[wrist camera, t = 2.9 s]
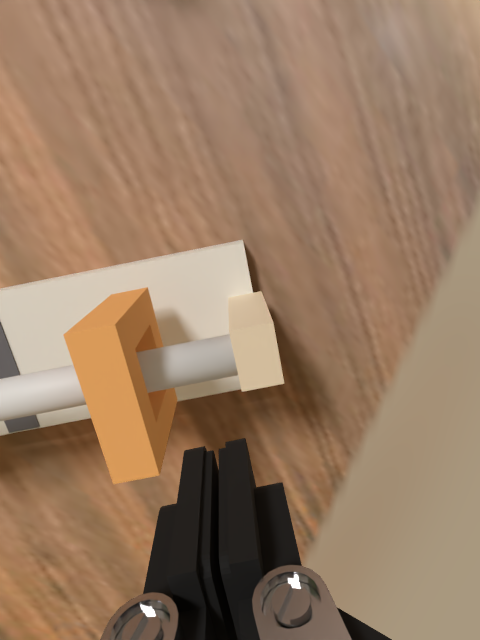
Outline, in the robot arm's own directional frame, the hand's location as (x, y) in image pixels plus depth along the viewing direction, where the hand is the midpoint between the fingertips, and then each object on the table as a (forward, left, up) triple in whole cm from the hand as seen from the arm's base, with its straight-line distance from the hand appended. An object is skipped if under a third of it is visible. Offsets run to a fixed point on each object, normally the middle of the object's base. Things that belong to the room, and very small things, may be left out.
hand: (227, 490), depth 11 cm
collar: (+5, 0, -12) cm, 13 cm away
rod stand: (+9, 0, -16) cm, 18 cm away
